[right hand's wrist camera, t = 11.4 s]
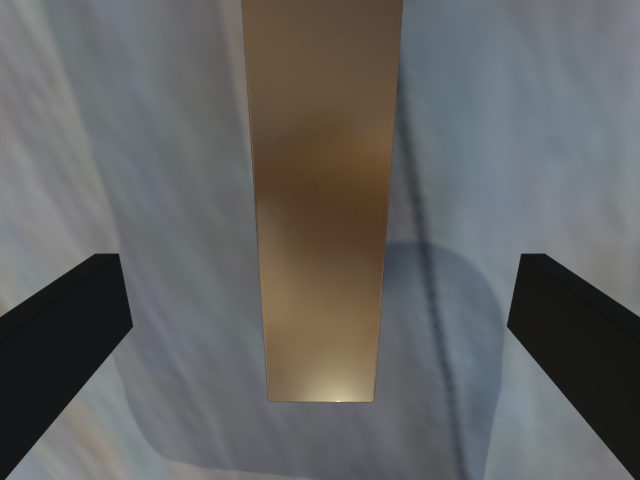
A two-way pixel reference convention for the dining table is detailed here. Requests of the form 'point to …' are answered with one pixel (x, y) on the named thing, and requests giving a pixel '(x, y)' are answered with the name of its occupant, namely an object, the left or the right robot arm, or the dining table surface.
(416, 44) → the dining table surface
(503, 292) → the dining table surface
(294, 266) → the beam
